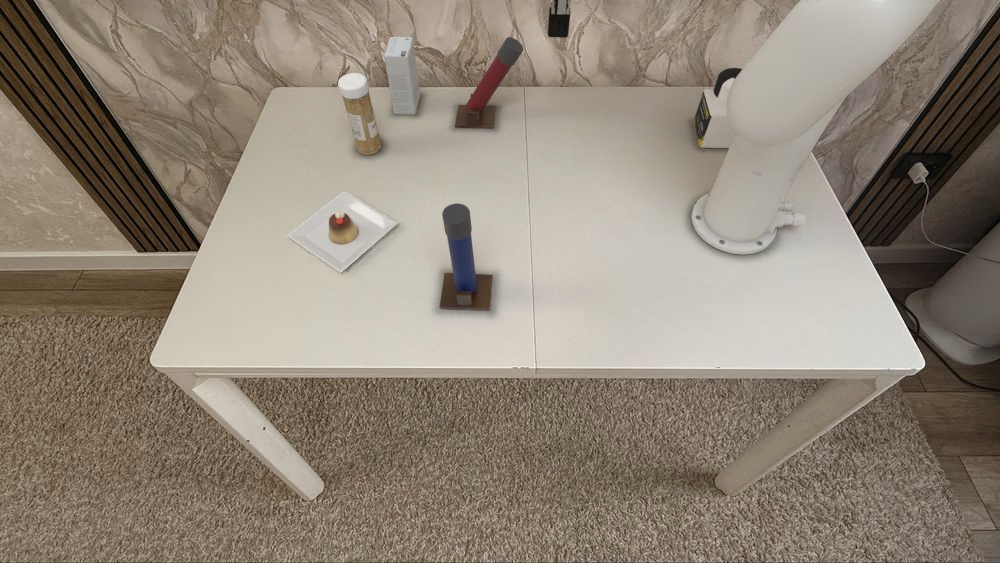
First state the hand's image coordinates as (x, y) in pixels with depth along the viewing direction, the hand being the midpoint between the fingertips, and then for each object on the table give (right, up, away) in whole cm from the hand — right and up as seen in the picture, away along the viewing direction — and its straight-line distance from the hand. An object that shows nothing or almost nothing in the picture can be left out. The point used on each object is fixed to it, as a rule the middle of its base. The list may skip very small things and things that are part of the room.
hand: (557, 34), depth 88 cm
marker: (-14, -39, -11) cm, 43 cm away
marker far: (-14, -8, +12) cm, 20 cm away
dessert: (-33, -32, -2) cm, 46 cm away
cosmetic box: (-26, -6, +16) cm, 32 cm away
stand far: (-14, -9, +14) cm, 21 cm away
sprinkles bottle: (-32, -16, +10) cm, 37 cm away
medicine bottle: (+29, -14, +10) cm, 34 cm away
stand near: (-14, -41, -9) cm, 44 cm away
